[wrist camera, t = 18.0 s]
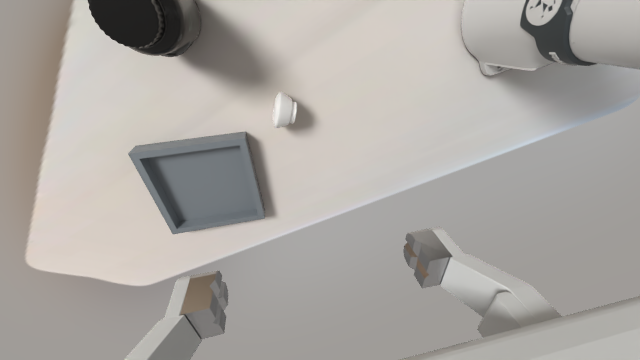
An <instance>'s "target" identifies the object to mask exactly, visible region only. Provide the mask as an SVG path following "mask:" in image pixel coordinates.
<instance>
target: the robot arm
mask: <svg viewBox="0 0 640 360" xmlns="http://www.w3.org/2000/svg"><path fill="white" fill-rule="evenodd" d="M461 30H462V37H463V40H464V43H465V45H466V47H467V49H468V50H469V52H470V53H471V54H472V55H473V56H474V57H476V58H477V60H478V61H479V65H480V68H481V71H482V73H483V74H484V75H495V74H498V73H501V72H504V71H507V70H510V69H513V68H514V69H521V70H528V71H534V70H536V69H537V68H540V67H544V66H546V65H549V64H551V63H553V62H558V63H562V64H565V65H584V66H589V65H594V64H598V63H599V64H606V65H613V66H619V67H626V68H633V69H640V0H465V3H464V7H463V12H462V21H461ZM406 241H407V243H406V244H405V246H404V257H405V259H406V262H407V264H408V265H409V267H411V268H412V269H414V270H415V273H414V275H415V277H416V279H417V281H418V282H419V284H420V286H421V287H422V288H426V287H430V286H436V285H440V286H442V287H443V288H444V289H446V290H447V291H448V292H450V293H451V294H452V295H454V296H455V297H456V298H458V299H459V300H460V301H462V302H463V303H464V304H466V305H467V306H469V307H470V308H471V309H473V310H474V311H475V312H477V313H478V314H479V315H481V316H482V317H483V319H482V321H481V322H480V324H479V325H478V331H479V333H480V334H481V335H482V337H483V338H480V339H476V340H472V341H468V342H464V343H461V344H457V345H453V346H449V347H446V348H442V349H438V350H434V351H430V352H427V353H423V354H419V355H415V356H412V357H408V358H404V359H400V360H640V296H638V297H634V298H630V299H626V300H623V301H619V302H615V303H611V304H608V305H604V306H601V307H596V308H593V309H589V310H585V311H582V312H578V313H574V314H570V315H566V316H561V315H560V314H559V313H558V312H557V311H556V310H555V309H554V308H553V307H552V306H551V305H550V304H549V303H548V302H547V301H546V300H545V299H544V298H543V297H542V296H541V295H540V294H539V293H538V292H537V291H536V290H535V289H534V288H533V287H532V286H531V285H530V284H528V283H526V282H524V281H522V280H520V279H518V278H516V277H514V276H512V275H510V274H508V273H506V272H504V271H502V270H500V269H498V268H496V267H494V266H492V265H490V264H488V263H486V262H484V261H482V260H480V259H478V258H476V257H474V256H472V255H470V254H464V252H462V250H461V249H460V248H459V247H458V246H457V244H456V243H455V242H454V241H453V240H452V239H451V237H449V235H448V234H447V233H446V232H445V231H444V229H442V228H441V227H436V228H430V229H424V230H420V231H415V232H411V233H408V234H407V235H406ZM221 279H222V275H221V273H220V271H214V272H208V273H203V274H197V275H191V276H185V277H180V278H179V279H178V280H177V281H176V284H175V287H174V290H173V293H172V296H171V299H170V302H169V305H168V308H167V311H166V314H165V318H164V319H162V320H159V322H158V323H157V324H156V325H155V326H154V327H153V328H152V329H151V330H150V331H149V333H148V334H147V335H146V336H145V337H144V338H143V339H142V340H141V341H140V343H139V344H138V345H137V346H136V347H135V348H134V349H133V350H132V351H131V353H130V354H129V355H128V356H127V357H126V358H125V359H124V360H190V359H191V357H192V356H193V353H194V352H195V351H196V349H197V347H198V346H199V344H200V343H201V341H202V340H201V339H205V338H208V337H213V336H216V335H220V334H224V330H225V322H226V315H225V313H224V310H225V308H226V307H227V305H228V290H227V286H226V283H225V282H223V281H221Z"/></svg>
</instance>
